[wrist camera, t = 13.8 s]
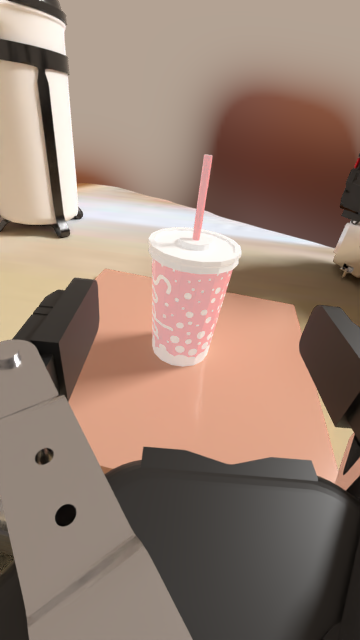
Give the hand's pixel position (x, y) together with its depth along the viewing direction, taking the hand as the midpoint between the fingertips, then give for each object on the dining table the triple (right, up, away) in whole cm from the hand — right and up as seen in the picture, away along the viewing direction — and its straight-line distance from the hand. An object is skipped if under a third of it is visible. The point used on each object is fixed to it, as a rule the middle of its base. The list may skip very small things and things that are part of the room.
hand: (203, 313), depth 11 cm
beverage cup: (-1, -3, +13) cm, 14 cm away
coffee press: (-24, +16, +37) cm, 47 cm away
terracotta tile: (-1, -3, +14) cm, 14 cm away
